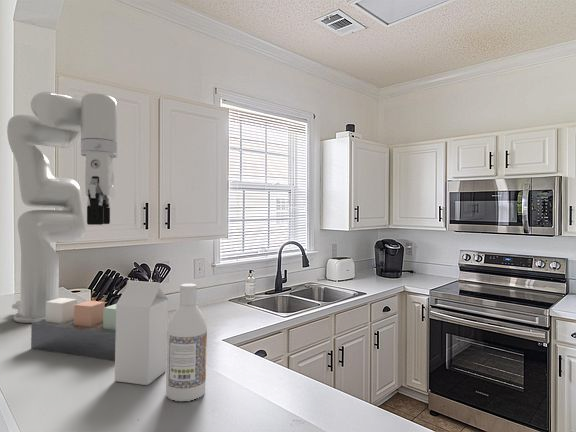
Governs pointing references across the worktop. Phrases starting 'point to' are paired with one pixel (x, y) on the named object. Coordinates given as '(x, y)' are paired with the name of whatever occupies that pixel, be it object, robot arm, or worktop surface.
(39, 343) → the grey socket block
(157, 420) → the worktop surface
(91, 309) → the peach key
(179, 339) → the bath foam
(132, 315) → the milk carton
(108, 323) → the pale green block
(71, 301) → the ivory key
